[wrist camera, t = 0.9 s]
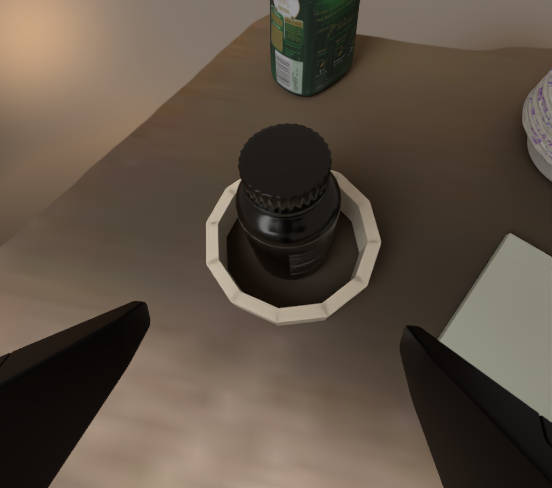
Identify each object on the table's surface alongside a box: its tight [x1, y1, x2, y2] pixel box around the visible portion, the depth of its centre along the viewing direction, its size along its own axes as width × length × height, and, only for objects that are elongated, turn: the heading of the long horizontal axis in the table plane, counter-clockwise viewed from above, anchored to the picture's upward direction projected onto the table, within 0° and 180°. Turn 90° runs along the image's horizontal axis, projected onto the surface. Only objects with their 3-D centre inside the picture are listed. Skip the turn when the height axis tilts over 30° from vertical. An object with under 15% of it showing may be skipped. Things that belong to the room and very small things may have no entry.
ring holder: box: [206, 170, 381, 326], centre depth 23 cm, size 14×14×3 cm
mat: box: [437, 233, 552, 422], centre depth 20 cm, size 12×12×1 cm
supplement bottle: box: [235, 123, 341, 280], centre depth 19 cm, size 7×7×12 cm
